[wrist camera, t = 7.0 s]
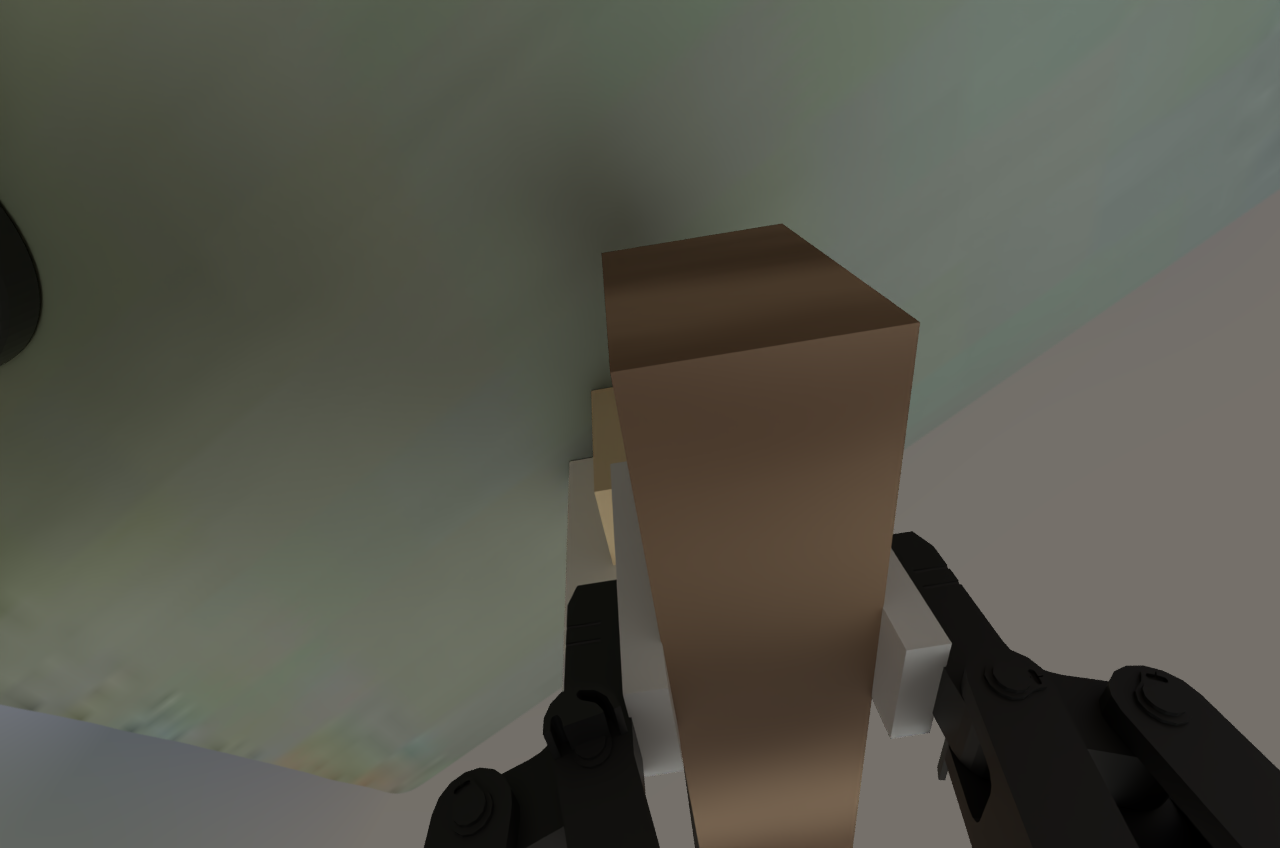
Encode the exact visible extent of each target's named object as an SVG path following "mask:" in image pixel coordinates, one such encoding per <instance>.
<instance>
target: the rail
mask: <svg viewBox="0 0 1280 848" xmlns="http://www.w3.org/2000/svg"><path fill="white" fill-rule="evenodd" d="M602 266H603V279H604V293H605V307H606V321H607V335H608V349H609V363H610V374H611V379H612V385H613V390H614V395H615V401H616V406H617V411H618V417H619V422H620V427H621V433H622V438H623V443H624V449H625V454H626V459H627V465H628V470H629V475H630V481H631V486H632V491H633V497H634V502H635V507H636V513H637V518H638V523H639V529H640V534H641V539H642V544H643V550H644V555H645V560H646V566H647V571H648V576H649V582H650V587H651V592H652V598H653V603H654V608H655V614H656V619H657V624H658V630H659V635H660V640H661V643H662V645H663V651H664V656H665V661H666V667H667V672H668V677H669V683H670V688H671V693H672V699H673V704H674V709H675V715H676V720H677V725H678V732H679V739H680V746H681V752H682V758H683V763H684V772H685V778H686V786H687V793H688V800H689V808H690V814H691V821H692V829H693V836H694V844H695V848H853V840H854V832H855V825H856V816H857V809H858V802H859V794H860V786H861V778H862V770H863V762H864V754H865V747H866V739H867V731H868V724H869V715H870V708H871V700H872V689H873V681H874V673H875V665H876V657H877V649H878V641H879V633H880V625H881V617H882V610H883V607H884V599H885V591H886V583H887V576H888V568H889V560H890V552H891V544H892V537H893V528H894V520H895V512H896V505H897V498H898V490H899V482H900V474H901V466H902V459H903V451H904V443H905V435H906V428H907V420H908V412H909V404H910V396H911V389H912V381H913V373H914V365H915V357H916V350H917V342H918V334H919V326H920V322H919V321H917V320H916V319H915V318H913V317H912V316H910V315H909V314H908V313H906V312H905V311H903V310H902V309H901V308H899V307H898V306H896V305H895V304H894V303H892V302H891V301H890V300H888V299H887V298H885V297H884V296H883V295H881V294H880V293H878V292H877V291H876V290H874V289H873V288H871V287H870V286H869V285H867V284H866V283H864V282H863V281H862V280H860V279H859V278H857V277H856V276H855V275H853V274H852V273H850V272H849V271H848V270H846V269H845V268H843V267H842V266H841V265H839V264H838V263H836V262H835V261H834V260H832V259H831V258H829V257H828V256H827V255H825V254H824V253H822V252H821V251H820V250H818V249H817V248H815V247H814V246H813V245H811V244H810V243H808V242H807V241H806V240H804V239H803V238H801V237H800V236H799V235H797V234H796V233H794V232H793V231H792V230H790V229H789V228H787V227H786V226H785V225H783V224H777V225H770V226H764V227H758V228H752V229H746V230H740V231H734V232H728V233H721V234H715V235H709V236H703V237H697V238H691V239H685V240H679V241H673V242H666V243H660V244H654V245H648V246H642V247H636V248H630V249H624V250H617V251H611V252H605V253H602Z"/></svg>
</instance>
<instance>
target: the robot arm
mask: <svg viewBox="0 0 1280 848" xmlns="http://www.w3.org/2000/svg"><path fill="white" fill-rule="evenodd" d="M39 308H40V297H39V288H38V283H37V278H36V274H35V271H34V267H33V264H32V262H31V259H30V256H29V254H28V252H27V249H26V247H25V245H24V243H23V241H22V239H21V237H20V236H19V234H18V232H17V230H16V229H15V227H14V225H13V224H12V222H11V221H10V219H9V218H8V216H7V215H6V213H5V212H4V210H3V209H2V208H1V206H0V366H1V365H2V364H4V363H6V362H8V361H9V360H11V359H12V358H14V357H15V356H16V355H17V354H18V353H19V352H21V350H22V349H23V348H24V347H25V346H26V345H27V343H28V342H29V340H30V339H31V337H32V335H33V333H34V330H35V328H36V325H37V321H38V316H39ZM610 469H611V487H612V505H613V524H614V542H615V560H616V578H617V579H616V580H610V581H604V582H597V583H591V584H585V585H578V586H577V587H576V589H575V591H574V593H573V595H572V597H571V599H570V601H569V603H568V605H567V630H566V652H565V676H564V691H563V692H561V693H560V694H559V695H558V696H557V698H556V699H555V700H554V701H553V702H552V703H551V704H550V706H549V708H548V710H547V713H546V715H545V717H544V724H543V735H544V738H545V740H546V742H547V747H546V748H545V749H543V751H541V752H540V753H539V754H537V755H536V756H534V757H533V758H531V759H530V760H528V761H526V762H524V763H522V764H520V765H518V766H516V767H514V768H512V769H510V770H509V771H507V772H505V773H503V774H500V773H499V772H497V771H496V770H494V769H488V768H477V769H474V770H471V771H468V772H465V773H464V774H462V775H461V776H459V777H458V778H457V779H456V780H454V781H452V782H451V783H450V784H449V786H448V787H447V788H446V789H445V791H444V792H443V793H442V795H441V796H440V797H439V799H438V802H437V804H436V806H435V809H434V811H433V814H432V817H431V821H430V825H429V829H428V833H427V837H426V841H425V845H424V848H660V847H659V843H658V839H657V836H656V832H655V828H654V825H653V821H652V817H651V814H650V810H649V807H648V803H647V799H646V795H645V783H644V775H645V777H647V776H653V775H660V774H667V773H673V772H679V771H684V768H683V761H682V754H681V746H680V739H679V732H678V725H677V720H676V715H675V709H674V704H673V699H672V693H671V688H670V683H669V677H668V672H667V667H666V661H665V656H664V651H663V645H662V643H661V640H660V635H659V630H658V624H657V619H656V614H655V608H654V603H653V598H652V592H651V587H650V582H649V576H648V571H647V566H646V560H645V555H644V550H643V544H642V539H641V534H640V529H639V523H638V518H637V513H636V507H635V502H634V497H633V491H632V486H631V481H630V475H629V470H628V465H627V461H625V462H619V463H613V464H610ZM872 699H873V702H874V704H875V706H876V708H877V710H878V713H879V714H880V717H881V719H882V721H883V723H884V726H885V728H886V730H887V732H888V735H889V737H890V739H892V738H899V737H906V736H912V735H918V734H925V733H930V729H931V725H932V721H933V717H935V719H936V721H937V723H938V725H939V727H940V728H941V730H942V732H943V734H944V736H945V742H944V745H943V749H942V752H941V757H940V759H939V763H938V767H937V768H938V778H939V780H945V778H946V775H947V772H948V771H949V774H950V778H951V781H952V784H953V787H954V790H955V794H956V797H957V800H958V803H959V806H960V810H961V813H962V816H963V819H964V822H965V826H966V829H967V832H968V835H969V839H970V842H971V845H972V848H1280V770H1279V769H1278V768H1276V767H1275V766H1274V765H1273V764H1272V763H1271V762H1270V761H1269V760H1268V759H1267V758H1266V757H1265V756H1264V755H1263V754H1262V753H1261V752H1260V751H1259V750H1258V749H1257V748H1256V747H1255V746H1254V745H1253V744H1252V743H1251V742H1250V741H1248V739H1246V737H1245V736H1243V735H1242V734H1241V733H1240V732H1239V731H1238V730H1237V729H1236V728H1235V727H1234V726H1233V725H1232V724H1231V723H1230V722H1229V721H1228V720H1227V719H1226V718H1224V716H1223V715H1222V714H1221V713H1220V712H1219V711H1218V710H1217V709H1216V708H1214V707H1213V706H1212V705H1211V704H1210V703H1209V702H1208V701H1207V700H1206V699H1205V698H1204V697H1203V696H1202V695H1201V694H1200V693H1198V692H1197V691H1196V690H1195V689H1193V688H1192V687H1191V686H1189V685H1188V684H1187V683H1186V682H1184V681H1183V680H1181V679H1179V678H1176V677H1175V676H1173V675H1171V674H1169V673H1167V672H1164V671H1162V670H1158V669H1154V668H1150V667H1146V666H1125V667H1122V668H1120V669H1118V670H1116V671H1114V673H1113V675H1112V677H1111V679H1110V680H1109V681H1102V680H1095V679H1088V678H1080V677H1073V676H1066V675H1060V674H1056V673H1052V672H1048V671H1045V670H1043V669H1042V668H1041V667H1039V666H1038V665H1037V664H1036V663H1034V662H1033V661H1031V660H1030V659H1029V658H1028V657H1026V656H1023V655H1021V654H1019V653H1016V652H1014V651H1012V650H1010V649H1009V648H1008V646H1007V645H1006V644H1005V643H1004V642H1003V641H1002V639H1001V638H1000V637H999V635H998V634H997V633H996V631H995V630H994V628H993V627H992V626H991V624H990V623H989V622H988V620H987V619H986V618H985V616H984V615H983V614H982V612H981V611H980V609H979V608H978V607H977V605H976V604H975V603H974V601H973V600H972V598H971V597H970V596H969V594H968V593H967V592H966V590H965V589H964V588H963V586H962V585H961V584H959V582H958V579H957V578H956V577H955V575H954V574H953V572H952V571H951V570H950V569H948V568H947V564H946V563H945V561H944V560H943V559H942V557H941V556H940V555H939V553H938V552H937V550H936V549H935V548H934V547H933V546H932V545H931V544H930V543H928V542H927V541H925V540H924V539H922V538H921V537H919V536H918V535H917V534H915V533H914V532H912V531H911V532H905V533H899V534H893V537H892V544H891V552H890V560H889V568H888V576H887V583H886V591H885V599H884V607H883V610H882V617H881V625H880V633H879V641H878V649H877V657H876V665H875V673H874V681H873V689H872Z"/></svg>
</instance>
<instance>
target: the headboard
mask: <svg viewBox="0 0 1280 848" xmlns="http://www.w3.org/2000/svg"><path fill="white" fill-rule="evenodd" d="M591 401H592V434H593V457H592V458H586V459H581V460H575V461H570V462H569V495H568V527H567V559H566V591H565V623H564V655H563V687H562V692H563V691H564V676H565V652H566V630H567V605H568V603H569V601H570V599H571V597H572V595H573V593H574V591H575V589H576V587H577V586H578V585H585V584H591V583H597V582H604V581H610V580H616V579H617V578H616V560H615V542H614V524H613V505H612V487H611V469H610V464H613V463H619V462H625V461H627V459H626V454H625V449H624V443H623V438H622V433H621V427H620V422H619V417H618V411H617V406H616V401H615V395H614V390H613V387H610V388H605V389H599V390H593V391H591Z"/></svg>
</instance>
